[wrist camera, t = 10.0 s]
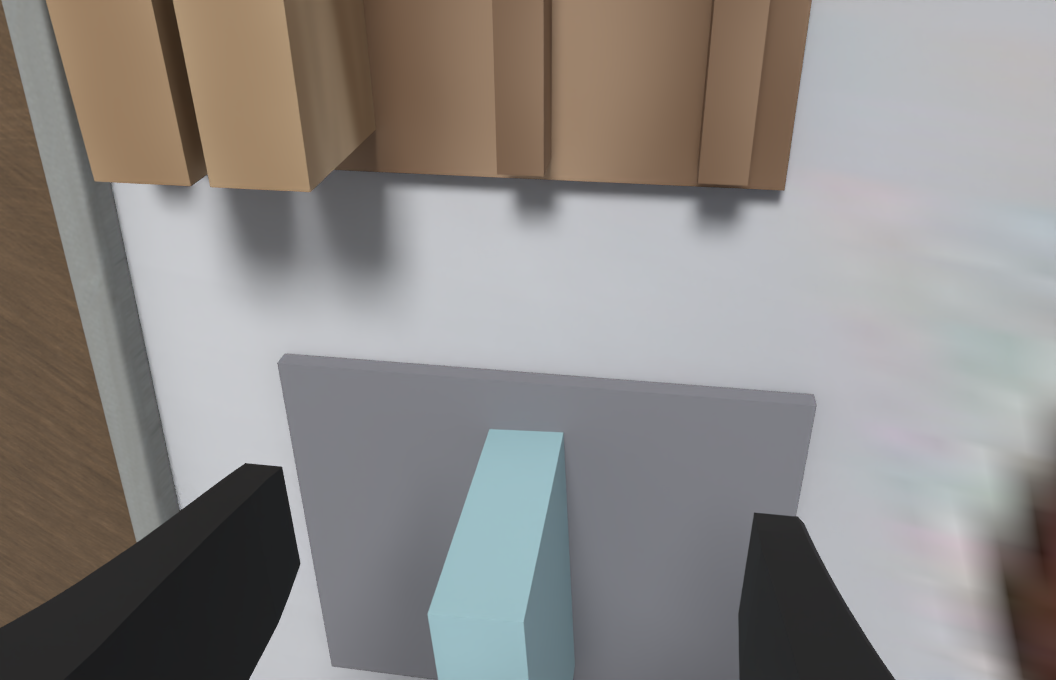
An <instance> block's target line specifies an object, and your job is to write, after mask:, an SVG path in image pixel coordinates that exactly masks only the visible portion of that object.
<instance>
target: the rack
mask: <svg viewBox="0 0 1056 680" xmlns="http://www.w3.org/2000/svg"><path fill="white" fill-rule="evenodd" d="M811 2H812V0H363V3H364V13H365V24H366V34H367V44H368V54H369V64H370V74H371V85H372V95H373V105H374V115H375V125H376V130H375V131H374V132H373V133H372V134H371V135H370V136H369V137H367V138H366V139H365V140H364V141H363V142H362V143H361V144H360V145H359V146H358V147H357V148H356V149H355V150H354V151H353V152H352V153H351V154H350V155H349V156H348V157H347V158H346V159H345V160H343V161H342V162H341V163H340V164H339V165H338V166H337V167H336V168H335V169H334V170H348V171H370V172H392V173H414V174H436V175H457V176H479V177H501V178H523V179H545V180H567V181H589V182H611V183H633V184H655V185H676V186H698V187H720V188H742V189H764V190H784V189H785V182H786V175H787V168H788V162H789V155H790V148H791V141H792V134H793V127H794V120H795V113H796V106H797V99H798V92H799V85H800V78H801V71H802V64H803V57H804V50H805V43H806V36H807V29H808V23H809V16H810V9H811Z"/></svg>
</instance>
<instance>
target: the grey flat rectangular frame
mask: <svg viewBox="0 0 1056 680" xmlns="http://www.w3.org/2000/svg"><path fill="white" fill-rule="evenodd" d="M178 512H179V506H178V501H177V496H176V492H175V487H174V482H173V477H172V473H171V468H170V463H169V458H168V453H167V449H166V444H165V439H164V434H163V430H162V425H161V420H160V415H159V411H158V406H157V401H156V396H155V392H154V387H153V382H152V377H151V373H150V368H149V363H148V358H147V354H146V349H145V344H144V339H143V335H142V330H141V325H140V320H139V315H138V311H137V306H136V301H135V296H134V292H133V287H132V282H131V277H130V273H129V268H128V263H127V258H126V254H125V249H124V244H123V239H122V235H121V230H120V225H119V220H118V216H117V211H116V206H115V201H114V197H113V192H112V187H111V182H97V181H94V177H93V173H92V170H91V166H90V162H89V159H88V155H87V151H86V147H85V144H84V140H83V136H82V133H81V129H80V125H79V122H78V118H77V114H76V110H75V107H74V103H73V99H72V96H71V92H70V88H69V84H68V81H67V77H66V73H65V70H64V66H63V62H62V58H61V55H60V51H59V47H58V44H57V40H56V36H55V33H54V29H53V25H52V21H51V18H50V14H49V10H48V7H47V3H46V0H0V628H1V627H3V626H5V625H6V624H8V623H10V622H12V621H14V620H15V619H17V618H19V617H21V616H22V615H24V614H26V613H28V612H29V611H31V610H33V609H35V608H36V607H38V606H40V605H42V604H43V603H45V602H47V601H48V600H50V599H52V598H53V597H55V596H57V595H58V594H60V593H62V592H63V591H65V590H66V589H68V588H70V587H71V586H73V585H74V584H76V583H77V582H79V581H80V580H82V579H83V578H85V577H86V576H88V575H89V574H91V573H92V572H94V571H95V570H97V569H98V568H100V567H101V566H103V565H104V564H106V563H107V562H109V561H110V560H112V559H113V558H115V557H116V556H118V555H119V554H121V553H122V552H124V551H125V550H127V549H128V548H130V547H131V546H133V545H134V544H135V543H137V542H138V541H140V540H141V539H142V538H144V537H145V536H147V535H148V534H149V533H151V532H152V531H153V530H155V529H156V528H158V527H159V526H160V525H162V524H163V523H164V522H166V521H167V520H169V519H170V518H171V517H173V516H174V515H175V514H177V513H178Z"/></svg>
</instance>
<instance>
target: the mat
mask: <svg viewBox="0 0 1056 680" xmlns="http://www.w3.org/2000/svg"><path fill="white" fill-rule="evenodd" d="M277 364H278V369H279V375H280V380H281V386H282V392H283V397H284V403H285V408H286V414H287V419H288V425H289V430H290V436H291V442H292V447H293V453H294V458H295V464H296V469H297V475H298V481H299V486H300V492H301V497H302V503H303V508H304V514H305V519H306V525H307V531H308V536H309V542H310V547H311V553H312V558H313V564H314V569H315V575H316V581H317V586H318V592H319V597H320V603H321V608H322V614H323V620H324V625H325V631H326V636H327V642H328V647H329V653H330V658H331V664H332V666H334V667H342V668H349V669H357V670H365V671H372V672H380V673H388V674H396V675H403V676H411V677H419V678H427V679H434V680H438V675H437V669H436V663H435V657H434V651H433V645H432V639H431V633H430V626H429V620H428V611H429V608H430V605H431V602H432V599H433V596H434V593H435V590H436V587H437V584H438V581H439V578H440V575H441V572H442V569H443V566H444V563H445V560H446V557H447V554H448V551H449V548H450V545H451V542H452V540H453V537H454V534H455V531H456V528H457V525H458V522H459V519H460V516H461V513H462V510H463V507H464V504H465V501H466V498H467V495H468V492H469V489H470V486H471V483H472V480H473V477H474V474H475V471H476V468H477V465H478V462H479V459H480V456H481V453H482V450H483V447H484V444H485V441H486V438H487V435H488V432H489V429H498V430H520V431H542V432H563V433H564V453H565V474H566V494H567V515H568V535H569V555H570V576H571V596H572V617H573V637H574V657H575V668H574V675H573V680H739V626H738V612H739V606H740V599H741V593H742V587H743V580H744V574H745V567H746V561H747V554H748V548H749V542H750V535H751V529H752V522H753V516H754V512H755V513H765V514H776V515H786V516H796V512H797V507H798V502H799V496H800V491H801V486H802V480H803V475H804V470H805V464H806V459H807V454H808V448H809V443H810V438H811V432H812V427H813V422H814V416H815V411H816V401H815V397H814V395H813V394H800V393H787V392H774V391H761V390H748V389H735V388H722V387H709V386H696V385H684V384H671V383H658V382H645V381H632V380H619V379H606V378H593V377H580V376H567V375H554V374H541V373H528V372H515V371H502V370H489V369H477V368H464V367H451V366H438V365H425V364H412V363H399V362H386V361H373V360H360V359H347V358H334V357H321V356H308V355H295V354H284V355H283V357H282V358H281V359H280V360H279V362H278V363H277Z"/></svg>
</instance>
